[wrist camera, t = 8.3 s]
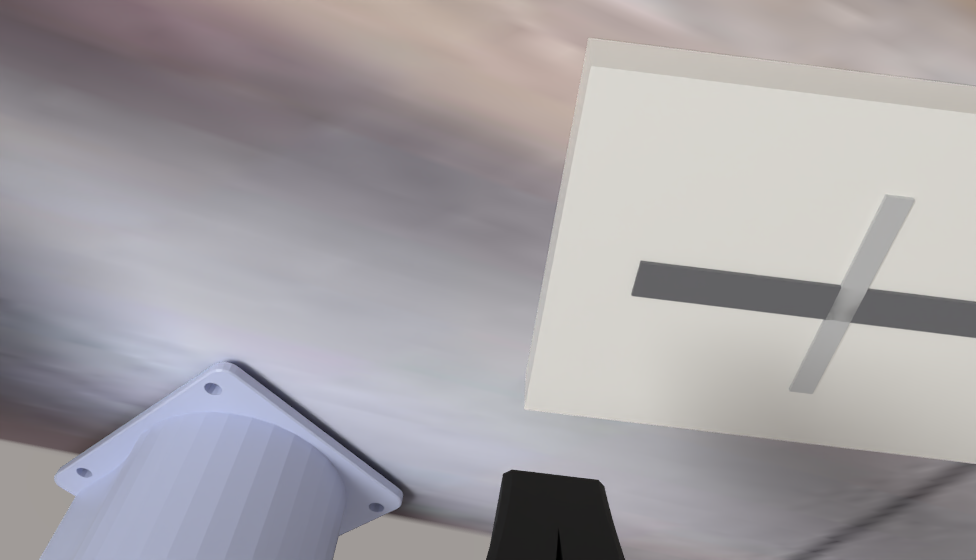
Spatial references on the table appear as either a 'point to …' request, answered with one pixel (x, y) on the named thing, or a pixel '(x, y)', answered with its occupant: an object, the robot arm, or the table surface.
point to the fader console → (764, 254)
